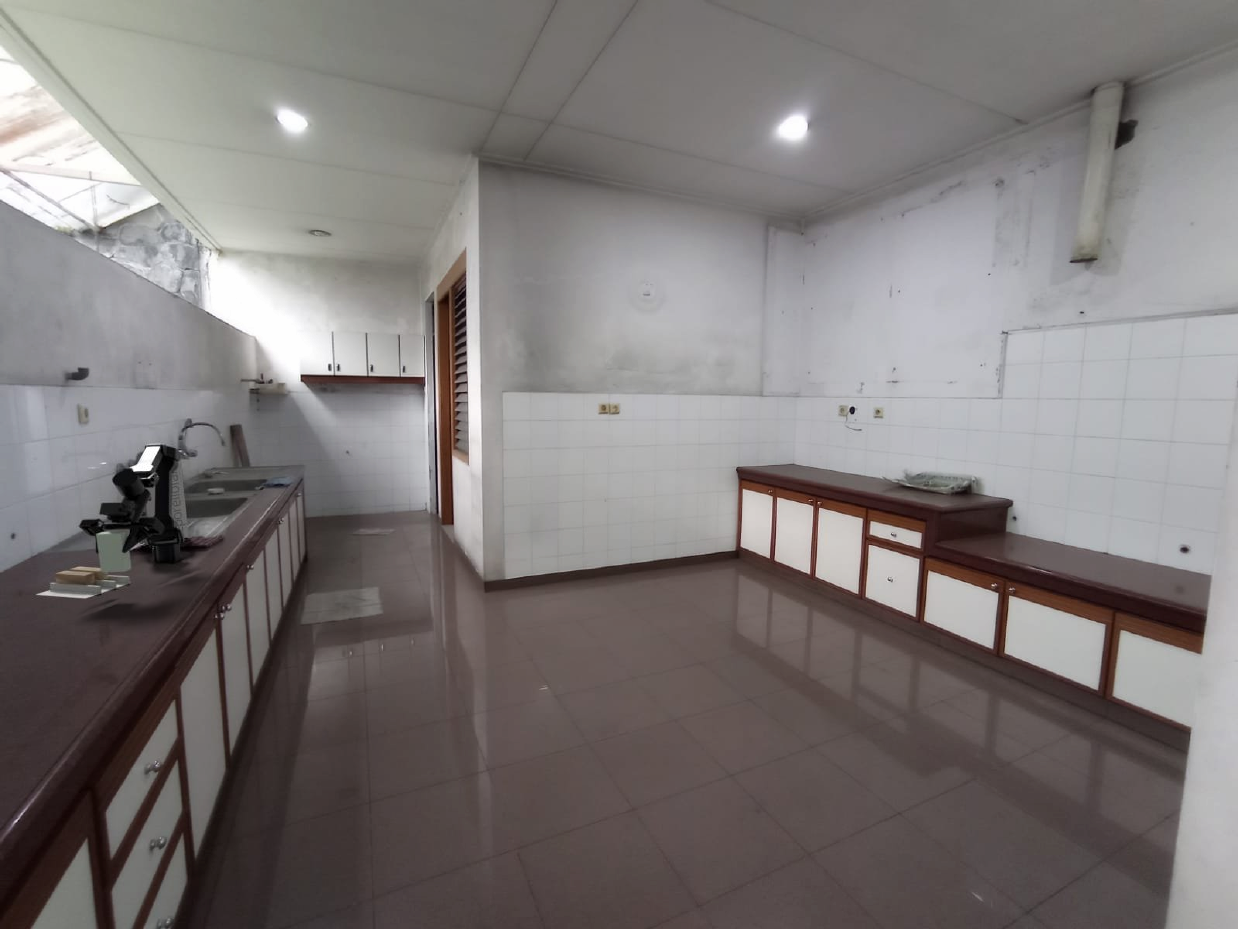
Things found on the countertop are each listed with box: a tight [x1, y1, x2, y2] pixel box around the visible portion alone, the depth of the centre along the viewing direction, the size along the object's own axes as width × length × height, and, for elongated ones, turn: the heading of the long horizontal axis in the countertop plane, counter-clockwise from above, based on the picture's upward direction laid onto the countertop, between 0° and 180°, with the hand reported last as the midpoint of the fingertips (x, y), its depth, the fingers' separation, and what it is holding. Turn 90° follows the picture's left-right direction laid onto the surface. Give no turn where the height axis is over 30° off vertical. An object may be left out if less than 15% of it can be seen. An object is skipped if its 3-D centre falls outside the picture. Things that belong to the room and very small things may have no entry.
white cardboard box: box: [138, 462, 190, 545], centre depth 209 cm, size 14×6×30 cm, turn 168°
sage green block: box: [96, 530, 132, 573], centre depth 157 cm, size 2×6×11 cm, turn 100°
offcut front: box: [69, 566, 109, 581], centre depth 165 cm, size 2×10×4 cm, turn 82°
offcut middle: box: [54, 570, 95, 586], centre depth 162 cm, size 2×10×4 cm, turn 82°
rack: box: [35, 574, 132, 599], centre depth 162 cm, size 13×16×3 cm
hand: (110, 552), depth 155 cm, fingers closed on sage green block, 6 cm apart
